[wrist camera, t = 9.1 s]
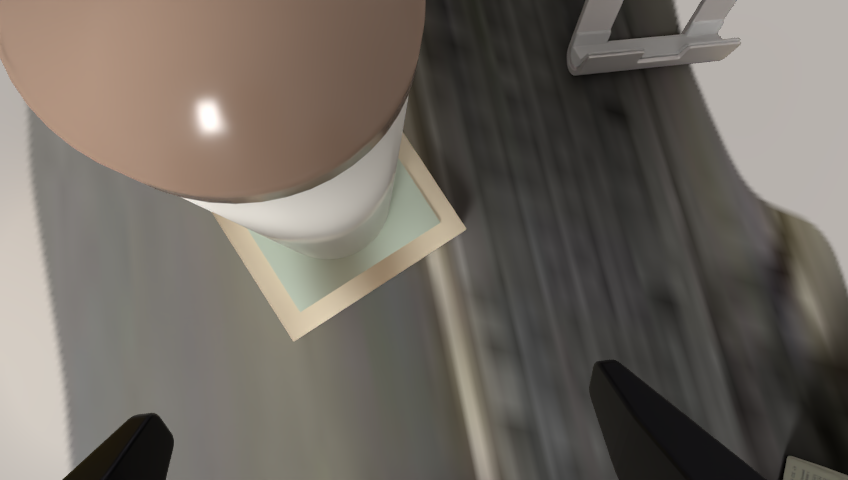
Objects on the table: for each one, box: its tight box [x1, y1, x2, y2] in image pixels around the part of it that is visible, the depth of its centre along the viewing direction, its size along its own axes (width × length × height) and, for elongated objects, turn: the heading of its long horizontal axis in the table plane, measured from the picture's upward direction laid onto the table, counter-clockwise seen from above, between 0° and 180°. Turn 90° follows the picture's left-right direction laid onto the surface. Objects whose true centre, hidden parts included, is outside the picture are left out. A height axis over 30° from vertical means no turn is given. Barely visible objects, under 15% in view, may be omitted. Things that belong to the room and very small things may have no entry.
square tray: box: [212, 132, 466, 342], centre depth 19 cm, size 9×9×2 cm
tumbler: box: [0, 0, 426, 260], centre depth 12 cm, size 6×6×13 cm
